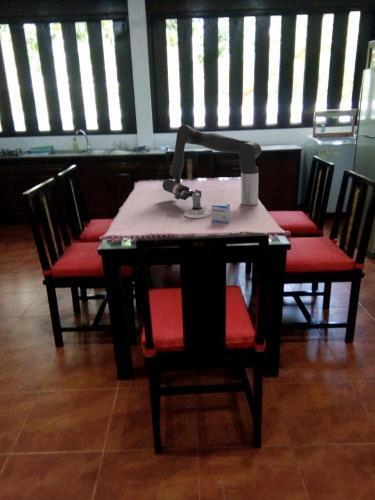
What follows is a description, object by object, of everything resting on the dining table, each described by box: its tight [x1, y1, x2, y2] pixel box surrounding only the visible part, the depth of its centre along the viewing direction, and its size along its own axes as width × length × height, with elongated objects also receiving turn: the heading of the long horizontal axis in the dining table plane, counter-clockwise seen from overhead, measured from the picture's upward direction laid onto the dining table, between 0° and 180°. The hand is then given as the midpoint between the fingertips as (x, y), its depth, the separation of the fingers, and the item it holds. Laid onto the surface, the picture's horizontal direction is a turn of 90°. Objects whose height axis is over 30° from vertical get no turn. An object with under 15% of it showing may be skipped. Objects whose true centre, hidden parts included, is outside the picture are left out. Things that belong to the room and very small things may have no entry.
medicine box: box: [211, 203, 231, 224], centre depth 189 cm, size 8×4×9 cm, turn 68°
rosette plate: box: [183, 206, 212, 219], centre depth 204 cm, size 14×14×3 cm
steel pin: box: [191, 193, 202, 210], centre depth 203 cm, size 4×4×10 cm
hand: (192, 197), depth 206 cm, fingers open, 8 cm apart
